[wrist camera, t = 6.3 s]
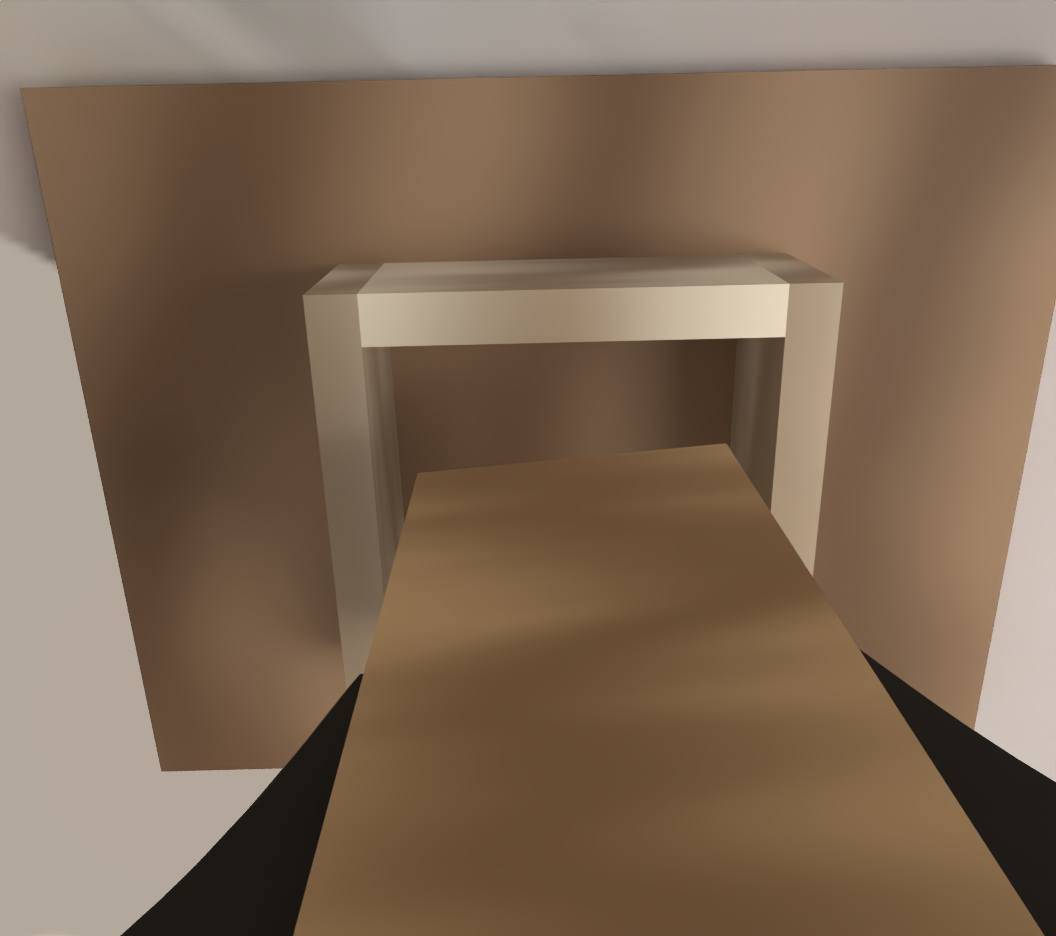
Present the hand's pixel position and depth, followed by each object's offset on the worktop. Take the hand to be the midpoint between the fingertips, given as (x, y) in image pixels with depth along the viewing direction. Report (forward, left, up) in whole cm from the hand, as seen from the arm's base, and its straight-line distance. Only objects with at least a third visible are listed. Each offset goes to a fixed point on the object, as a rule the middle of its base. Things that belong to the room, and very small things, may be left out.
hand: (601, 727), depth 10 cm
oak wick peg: (0, 0, -2) cm, 3 cm away
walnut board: (0, 0, -9) cm, 9 cm away
